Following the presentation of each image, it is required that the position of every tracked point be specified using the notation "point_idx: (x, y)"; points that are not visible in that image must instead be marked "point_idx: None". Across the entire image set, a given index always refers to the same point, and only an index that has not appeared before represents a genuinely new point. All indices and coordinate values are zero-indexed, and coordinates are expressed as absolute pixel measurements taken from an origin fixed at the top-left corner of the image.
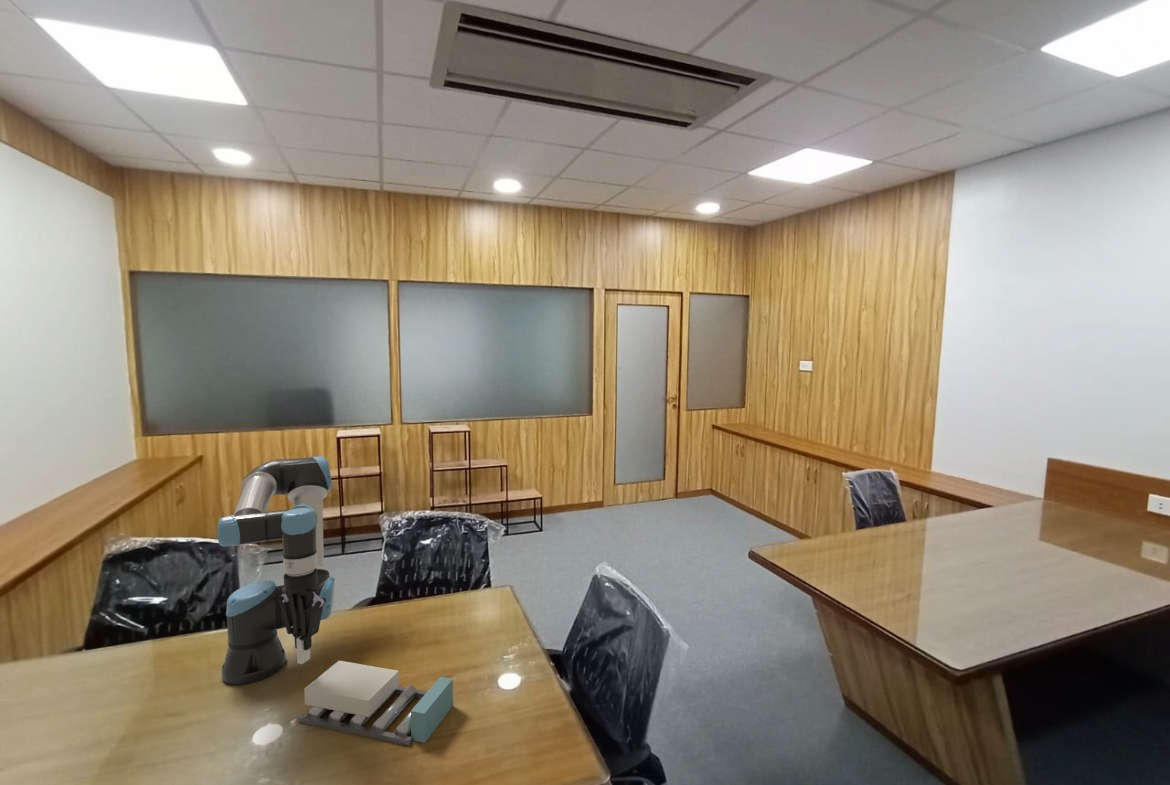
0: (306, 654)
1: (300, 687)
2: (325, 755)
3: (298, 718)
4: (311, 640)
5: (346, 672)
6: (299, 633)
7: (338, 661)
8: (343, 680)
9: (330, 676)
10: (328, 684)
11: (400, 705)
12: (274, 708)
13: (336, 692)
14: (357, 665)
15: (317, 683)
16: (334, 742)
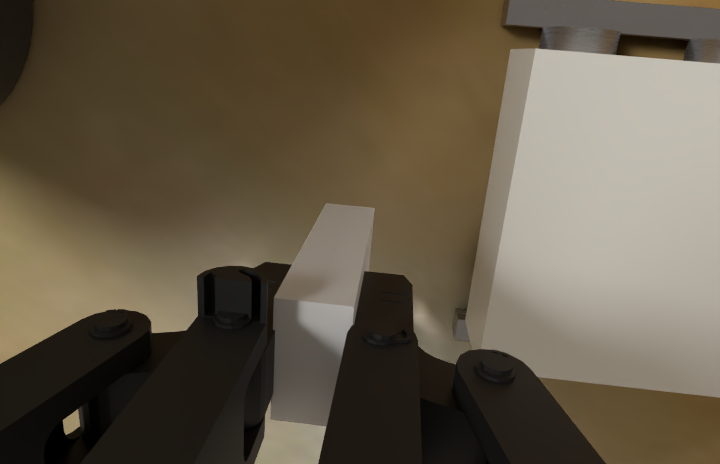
0: (367, 267)
1: (276, 93)
2: (671, 454)
3: (456, 338)
4: (411, 311)
5: (676, 185)
6: (260, 400)
7: (538, 62)
8: (697, 272)
9: (578, 244)
10: (611, 321)
11: None
12: (273, 257)
13: (706, 380)
14: None
15: (530, 319)
16: (675, 399)
